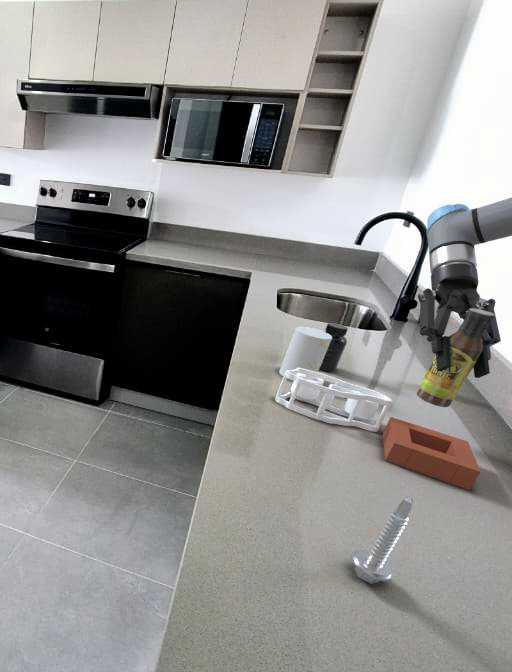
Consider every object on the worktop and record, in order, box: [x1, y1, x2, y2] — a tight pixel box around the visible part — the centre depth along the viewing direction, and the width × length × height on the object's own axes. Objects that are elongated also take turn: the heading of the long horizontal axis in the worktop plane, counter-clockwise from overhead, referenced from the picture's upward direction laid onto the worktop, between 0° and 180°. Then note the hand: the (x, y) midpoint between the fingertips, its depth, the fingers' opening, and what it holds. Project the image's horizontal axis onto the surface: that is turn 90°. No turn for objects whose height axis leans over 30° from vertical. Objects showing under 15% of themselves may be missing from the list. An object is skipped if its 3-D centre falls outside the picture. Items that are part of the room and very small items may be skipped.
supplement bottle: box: [319, 322, 349, 373], centre depth 134 cm, size 7×7×12 cm
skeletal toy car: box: [274, 368, 394, 433], centre depth 108 cm, size 20×11×7 cm, turn 53°
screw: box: [350, 496, 415, 585], centre depth 63 cm, size 13×5×5 cm
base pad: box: [382, 416, 482, 491], centre depth 95 cm, size 13×13×4 cm
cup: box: [279, 325, 332, 382], centre depth 124 cm, size 8×8×12 cm
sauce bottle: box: [416, 308, 496, 408], centre depth 100 cm, size 6×6×20 cm
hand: (463, 371), depth 97 cm, fingers closed on sauce bottle, 6 cm apart
